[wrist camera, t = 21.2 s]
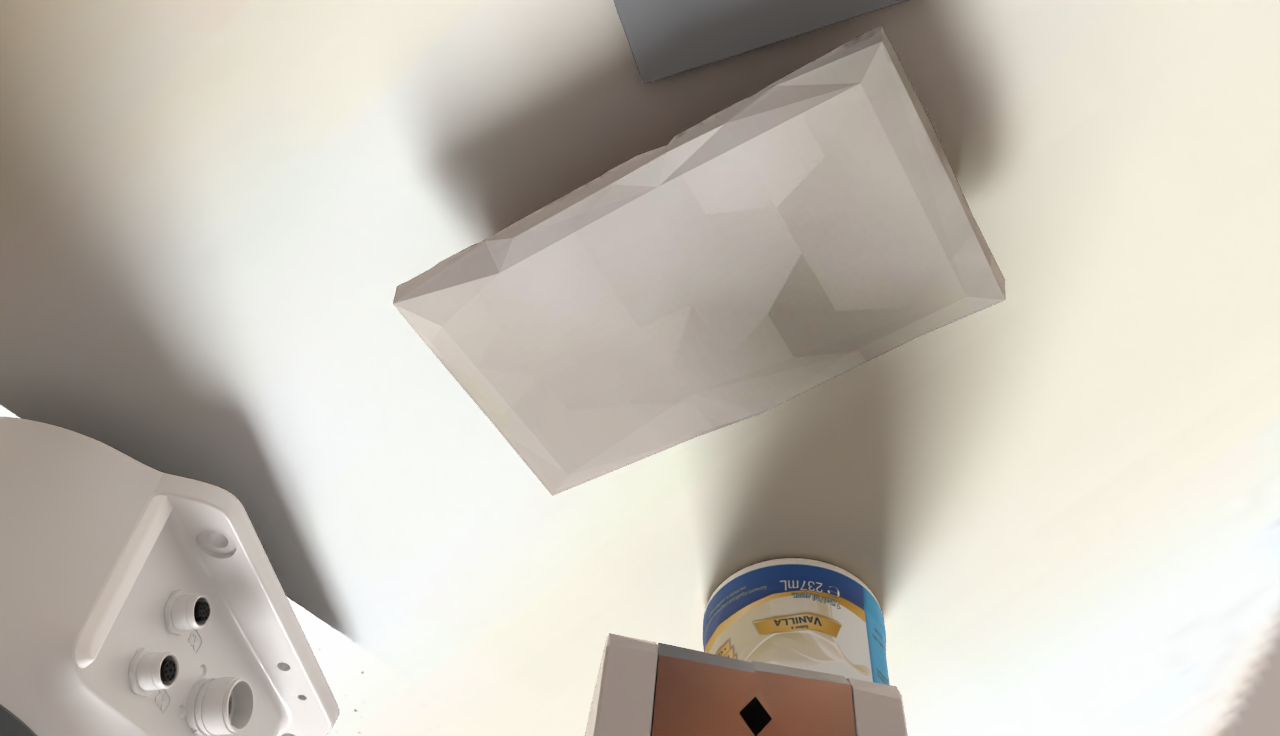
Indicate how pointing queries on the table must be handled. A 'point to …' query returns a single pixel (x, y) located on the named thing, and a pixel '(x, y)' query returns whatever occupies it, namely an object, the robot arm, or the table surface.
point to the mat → (721, 28)
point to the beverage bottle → (799, 619)
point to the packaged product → (713, 272)
